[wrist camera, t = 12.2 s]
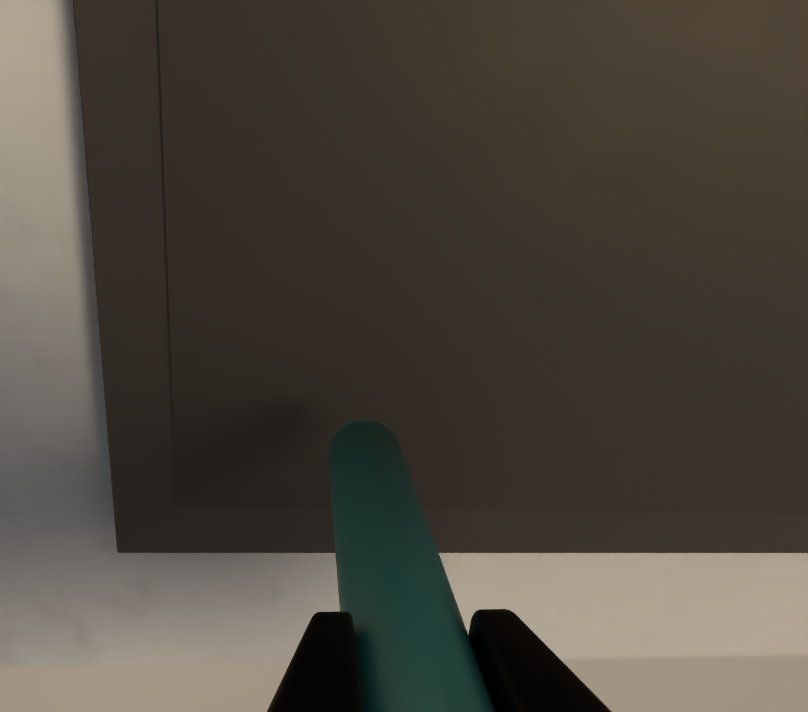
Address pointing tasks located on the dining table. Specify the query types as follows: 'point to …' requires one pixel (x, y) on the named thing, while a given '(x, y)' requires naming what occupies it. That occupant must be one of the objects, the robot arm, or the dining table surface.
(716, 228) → the tablet
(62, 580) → the dining table surface
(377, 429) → the stylus
